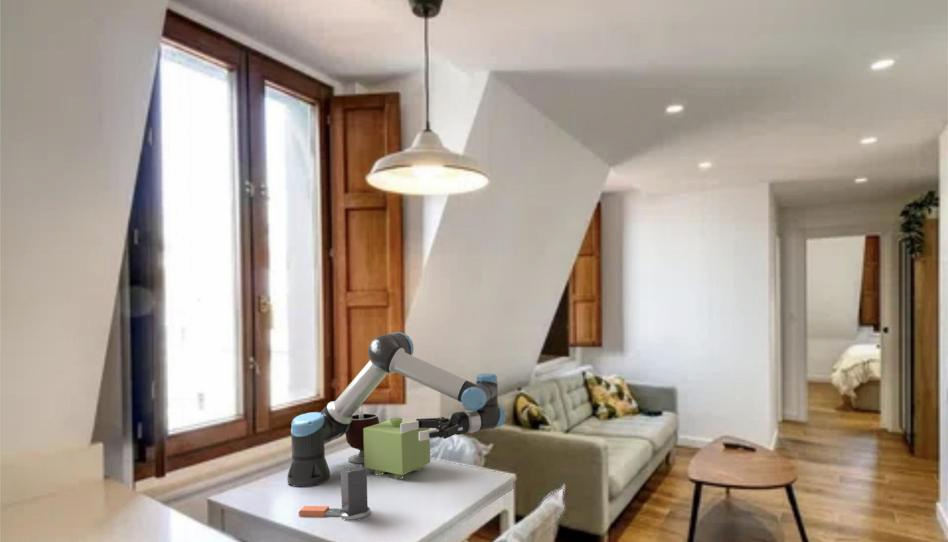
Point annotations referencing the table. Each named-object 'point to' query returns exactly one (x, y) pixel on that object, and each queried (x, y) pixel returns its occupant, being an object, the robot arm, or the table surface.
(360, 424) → the mate gourd
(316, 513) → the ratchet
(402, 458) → the container
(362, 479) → the dark grey block
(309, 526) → the table surface
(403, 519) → the table surface
